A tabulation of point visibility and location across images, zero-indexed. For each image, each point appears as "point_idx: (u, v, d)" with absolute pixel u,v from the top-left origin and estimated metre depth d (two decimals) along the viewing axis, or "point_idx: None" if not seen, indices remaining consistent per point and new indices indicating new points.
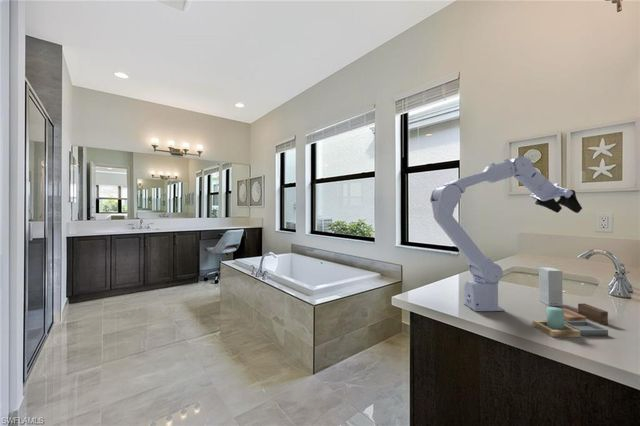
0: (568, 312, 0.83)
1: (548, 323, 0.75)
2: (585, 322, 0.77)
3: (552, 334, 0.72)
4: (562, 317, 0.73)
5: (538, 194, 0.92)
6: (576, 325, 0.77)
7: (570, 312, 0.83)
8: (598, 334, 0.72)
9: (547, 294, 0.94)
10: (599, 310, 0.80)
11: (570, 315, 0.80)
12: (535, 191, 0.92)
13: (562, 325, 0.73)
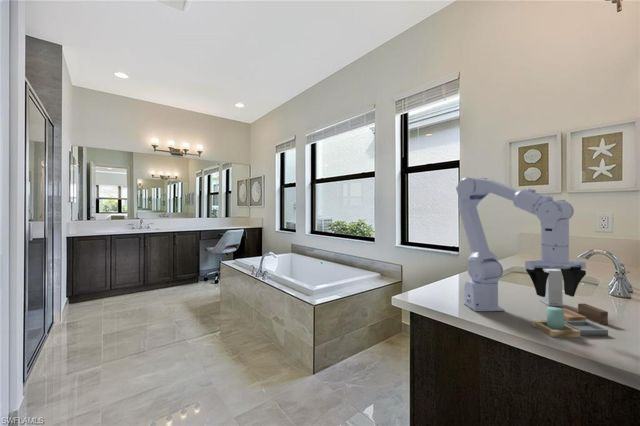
0: (568, 312, 0.83)
1: (548, 323, 0.75)
2: (585, 322, 0.77)
3: (552, 334, 0.72)
4: (562, 317, 0.73)
5: None
6: (576, 325, 0.77)
7: (571, 312, 0.83)
8: (598, 334, 0.72)
9: (547, 294, 0.94)
10: (599, 310, 0.80)
11: (570, 315, 0.80)
12: None
13: (562, 325, 0.73)
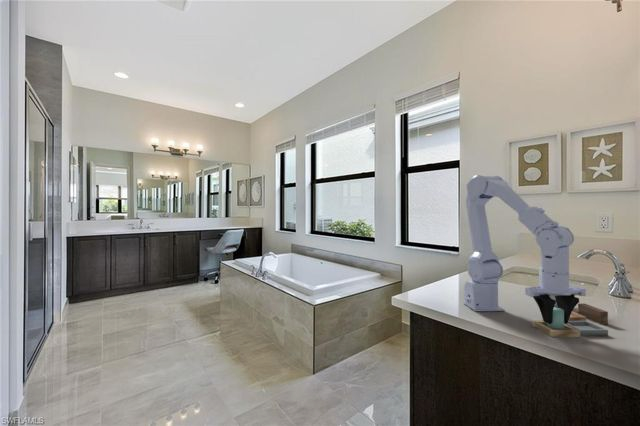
0: None
1: None
2: (585, 322, 0.77)
3: (552, 334, 0.72)
4: (562, 317, 0.73)
5: None
6: (576, 325, 0.77)
7: None
8: (598, 334, 0.72)
9: None
10: (599, 310, 0.80)
11: (570, 315, 0.80)
12: None
13: (562, 325, 0.73)
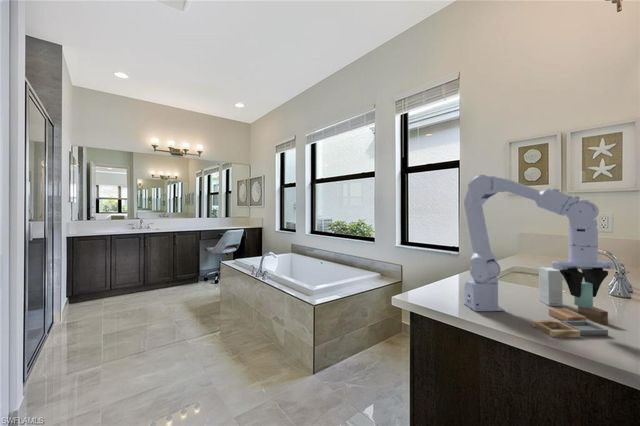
0: (568, 312, 0.83)
1: (576, 297, 0.75)
2: (585, 322, 0.77)
3: (552, 334, 0.72)
4: (591, 290, 0.73)
5: None
6: (576, 325, 0.77)
7: (571, 312, 0.83)
8: (598, 334, 0.72)
9: (547, 294, 0.94)
10: (599, 310, 0.80)
11: (570, 315, 0.80)
12: None
13: (591, 298, 0.73)
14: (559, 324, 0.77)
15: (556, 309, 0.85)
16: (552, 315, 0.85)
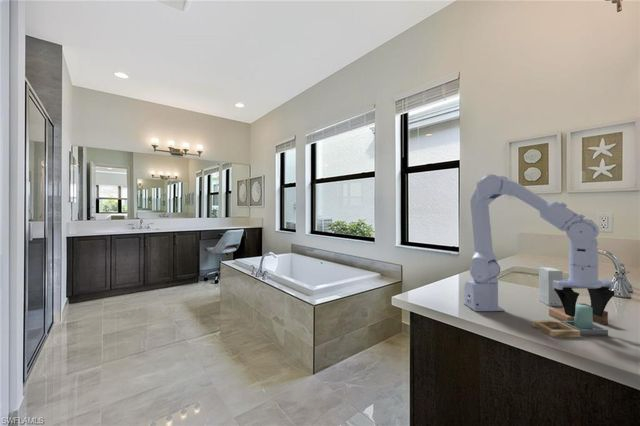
0: None
1: (576, 320, 0.75)
2: None
3: (552, 334, 0.72)
4: (591, 314, 0.73)
5: None
6: None
7: None
8: (598, 334, 0.72)
9: (547, 294, 0.94)
10: None
11: None
12: None
13: (591, 322, 0.73)
14: (559, 324, 0.77)
15: (556, 309, 0.85)
16: (552, 315, 0.85)
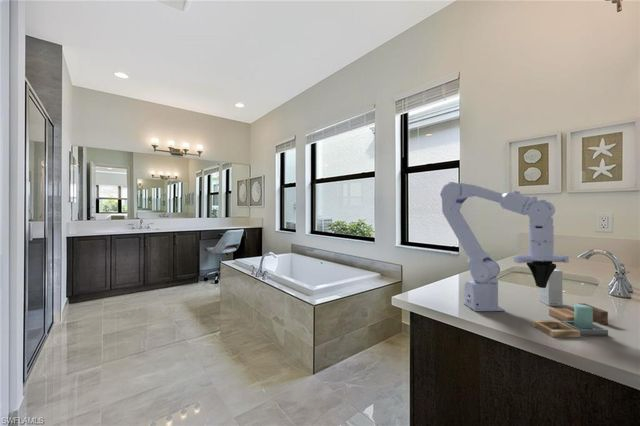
0: (568, 312, 0.83)
1: (576, 320, 0.75)
2: None
3: (552, 334, 0.72)
4: (591, 314, 0.73)
5: None
6: None
7: (571, 312, 0.83)
8: (598, 334, 0.72)
9: (547, 294, 0.94)
10: (599, 310, 0.80)
11: (569, 315, 0.80)
12: None
13: (591, 322, 0.73)
14: (559, 324, 0.77)
15: (556, 309, 0.85)
16: (552, 315, 0.85)
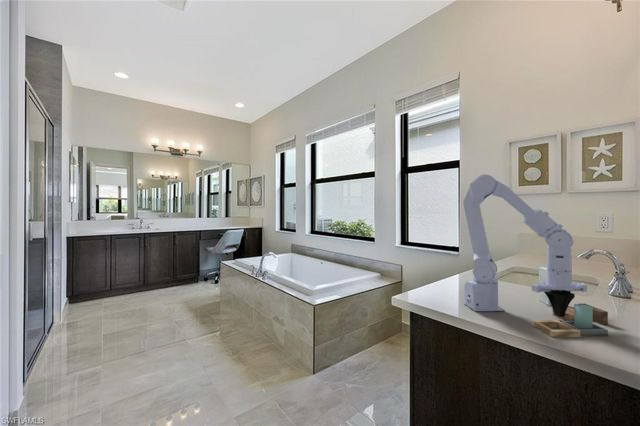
0: (572, 311, 0.83)
1: (576, 320, 0.75)
2: None
3: (552, 334, 0.72)
4: (590, 314, 0.73)
5: None
6: None
7: None
8: (598, 334, 0.72)
9: None
10: (599, 310, 0.80)
11: None
12: None
13: (591, 322, 0.73)
14: (559, 324, 0.77)
15: None
16: None
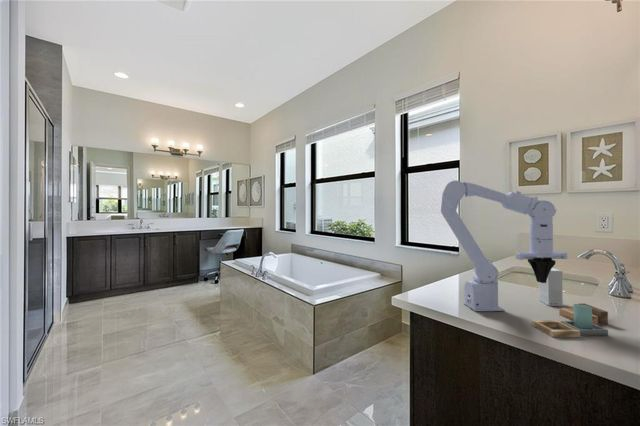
0: None
1: (575, 320, 0.75)
2: None
3: (552, 334, 0.72)
4: (589, 314, 0.73)
5: None
6: None
7: None
8: (598, 334, 0.72)
9: (547, 294, 0.94)
10: (599, 310, 0.80)
11: None
12: None
13: (590, 322, 0.73)
14: (559, 324, 0.77)
15: (567, 309, 0.85)
16: (563, 315, 0.85)
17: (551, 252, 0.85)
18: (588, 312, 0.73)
